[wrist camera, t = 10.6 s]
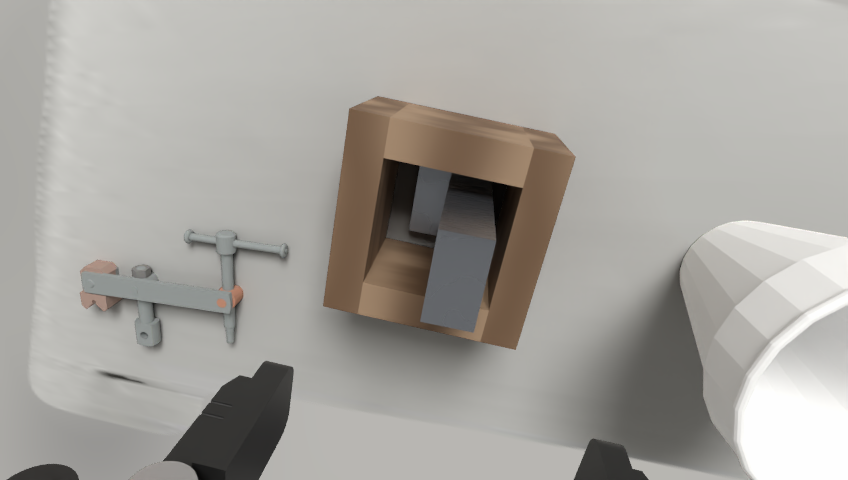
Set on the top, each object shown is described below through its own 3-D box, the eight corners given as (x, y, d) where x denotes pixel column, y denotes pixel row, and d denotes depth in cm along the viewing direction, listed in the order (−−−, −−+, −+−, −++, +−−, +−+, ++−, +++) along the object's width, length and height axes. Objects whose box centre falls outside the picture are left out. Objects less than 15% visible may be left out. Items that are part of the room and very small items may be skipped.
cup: (817, 354, 33) (1025, 542, 20) (626, 350, 35) (710, 524, 22) (866, 174, 29) (1168, 271, 16) (645, 178, 30) (764, 270, 18)
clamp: (86, 342, 37) (65, 216, 34) (107, 326, 39) (89, 207, 36) (281, 372, 36) (281, 247, 33) (291, 355, 38) (293, 235, 35)
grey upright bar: (490, 173, 31) (496, 240, 20) (476, 237, 33) (473, 332, 22) (422, 159, 31) (389, 219, 20) (411, 224, 33) (375, 312, 22)
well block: (555, 133, 30) (575, 157, 23) (509, 292, 34) (515, 349, 27) (377, 96, 30) (349, 108, 24) (353, 257, 34) (323, 306, 28)
